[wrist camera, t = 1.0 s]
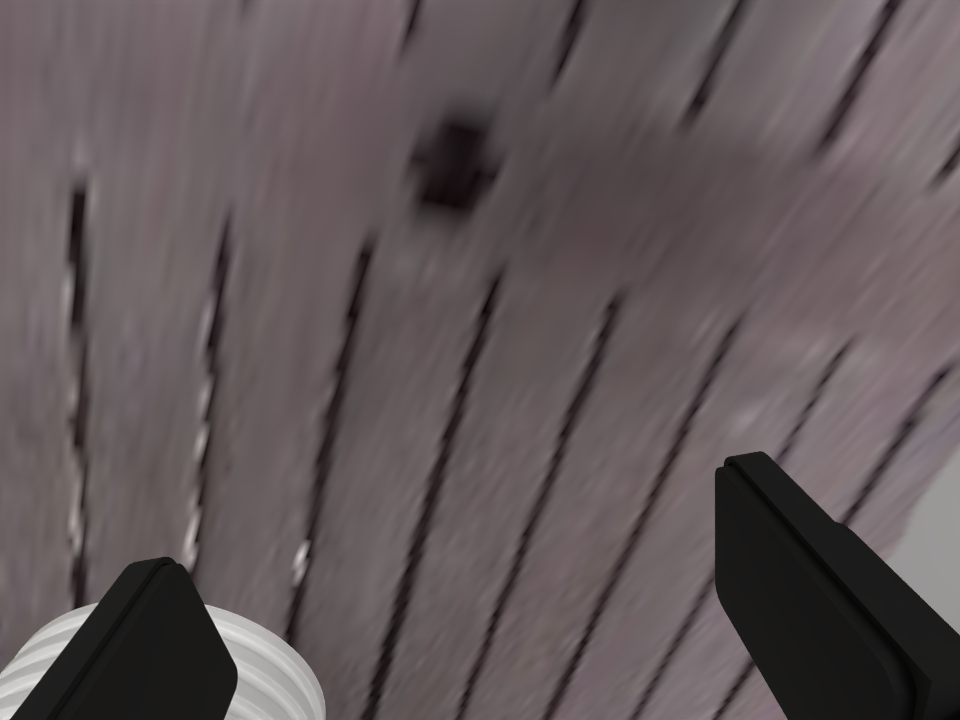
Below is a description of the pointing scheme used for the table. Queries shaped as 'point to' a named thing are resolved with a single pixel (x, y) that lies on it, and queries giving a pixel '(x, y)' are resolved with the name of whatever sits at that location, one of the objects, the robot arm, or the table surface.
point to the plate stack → (255, 650)
